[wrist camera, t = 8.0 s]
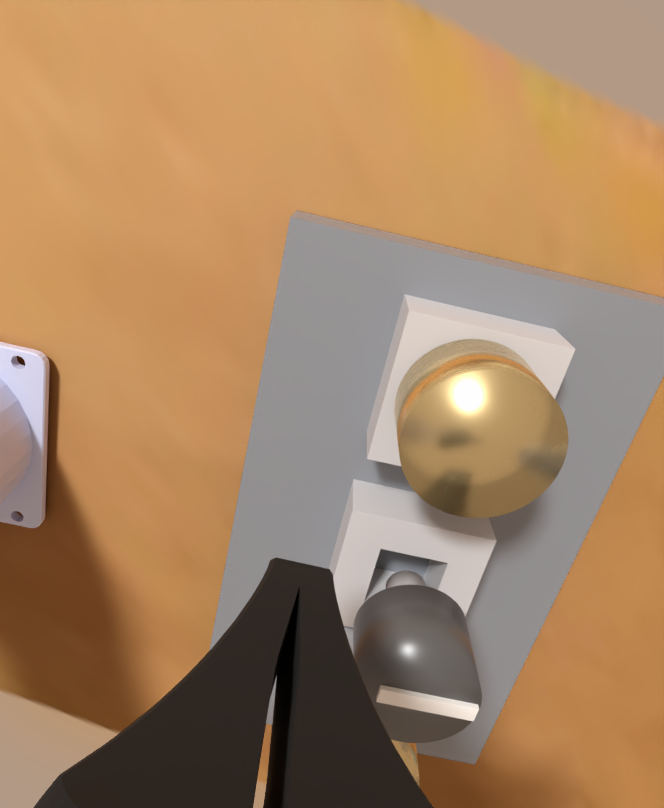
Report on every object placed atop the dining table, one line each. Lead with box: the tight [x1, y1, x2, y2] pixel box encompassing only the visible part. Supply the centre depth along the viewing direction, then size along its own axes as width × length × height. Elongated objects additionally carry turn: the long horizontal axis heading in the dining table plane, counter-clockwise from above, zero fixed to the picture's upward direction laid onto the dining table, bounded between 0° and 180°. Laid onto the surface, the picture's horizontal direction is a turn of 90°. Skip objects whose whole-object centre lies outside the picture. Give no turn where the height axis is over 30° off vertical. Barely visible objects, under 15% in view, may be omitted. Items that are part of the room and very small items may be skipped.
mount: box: [210, 211, 664, 765], centre depth 23 cm, size 13×22×4 cm, turn 167°
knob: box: [394, 339, 568, 518], centre depth 18 cm, size 4×4×5 cm
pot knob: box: [353, 570, 482, 743], centre depth 19 cm, size 4×4×5 cm
